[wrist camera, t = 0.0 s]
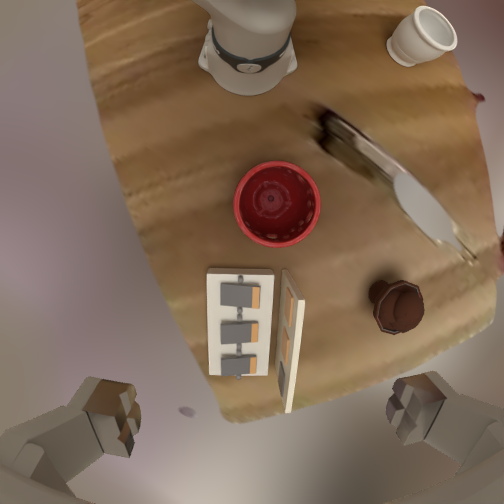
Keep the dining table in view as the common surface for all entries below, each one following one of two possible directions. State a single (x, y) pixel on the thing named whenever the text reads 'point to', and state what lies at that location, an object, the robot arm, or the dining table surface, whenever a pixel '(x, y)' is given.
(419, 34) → the jar
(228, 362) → the switch far
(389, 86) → the dining table surface
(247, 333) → the switch middle
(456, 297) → the dining table surface
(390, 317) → the ice cream bowl
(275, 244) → the plant pot
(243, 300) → the switch near
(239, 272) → the switch unit
